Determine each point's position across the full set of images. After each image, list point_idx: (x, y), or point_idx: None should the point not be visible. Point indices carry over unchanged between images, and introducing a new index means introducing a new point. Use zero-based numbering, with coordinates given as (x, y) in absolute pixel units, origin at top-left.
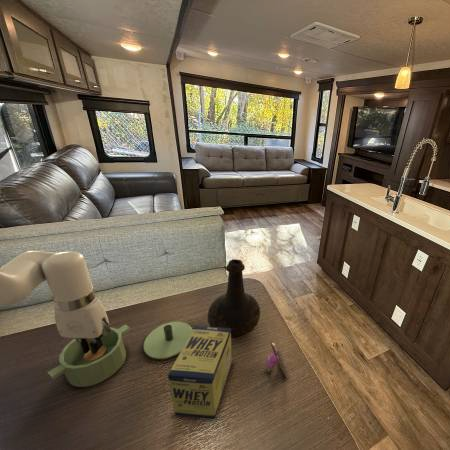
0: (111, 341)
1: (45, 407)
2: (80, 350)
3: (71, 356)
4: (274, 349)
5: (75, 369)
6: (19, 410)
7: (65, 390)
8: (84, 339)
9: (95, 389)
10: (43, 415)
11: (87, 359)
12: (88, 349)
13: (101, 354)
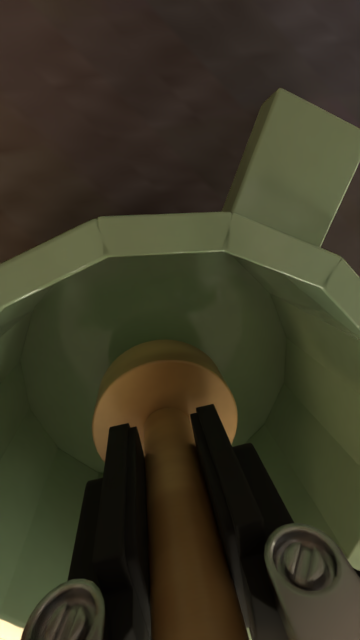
0: None
1: (219, 60)
2: (307, 411)
3: (321, 361)
4: None
5: (94, 220)
6: (351, 17)
7: (199, 184)
8: (249, 599)
9: (23, 225)
10: (183, 5)
11: (170, 366)
12: (197, 445)
13: (100, 428)
